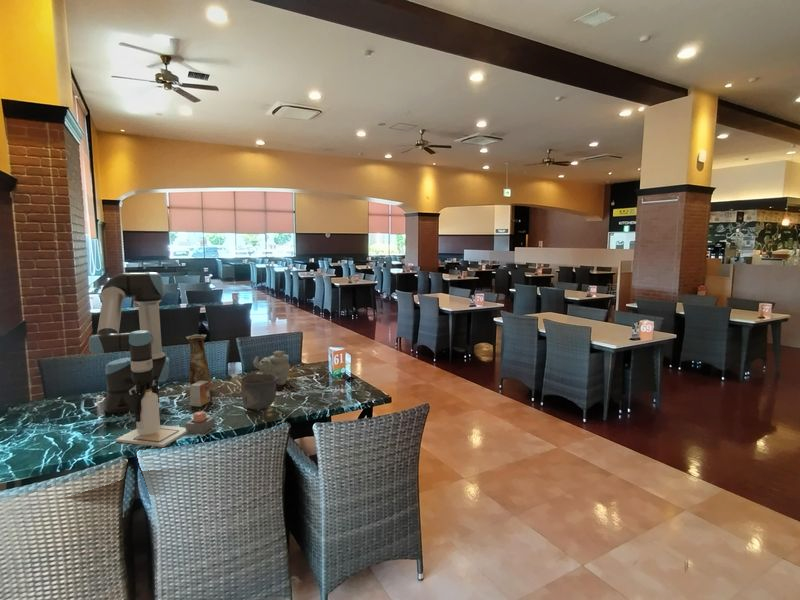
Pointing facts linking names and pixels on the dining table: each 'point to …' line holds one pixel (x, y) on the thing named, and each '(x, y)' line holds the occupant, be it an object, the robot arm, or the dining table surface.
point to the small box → (200, 393)
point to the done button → (199, 417)
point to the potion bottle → (150, 413)
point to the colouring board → (154, 436)
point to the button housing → (200, 426)
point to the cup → (258, 390)
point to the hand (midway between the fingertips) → (146, 425)
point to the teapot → (275, 366)
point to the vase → (198, 360)
